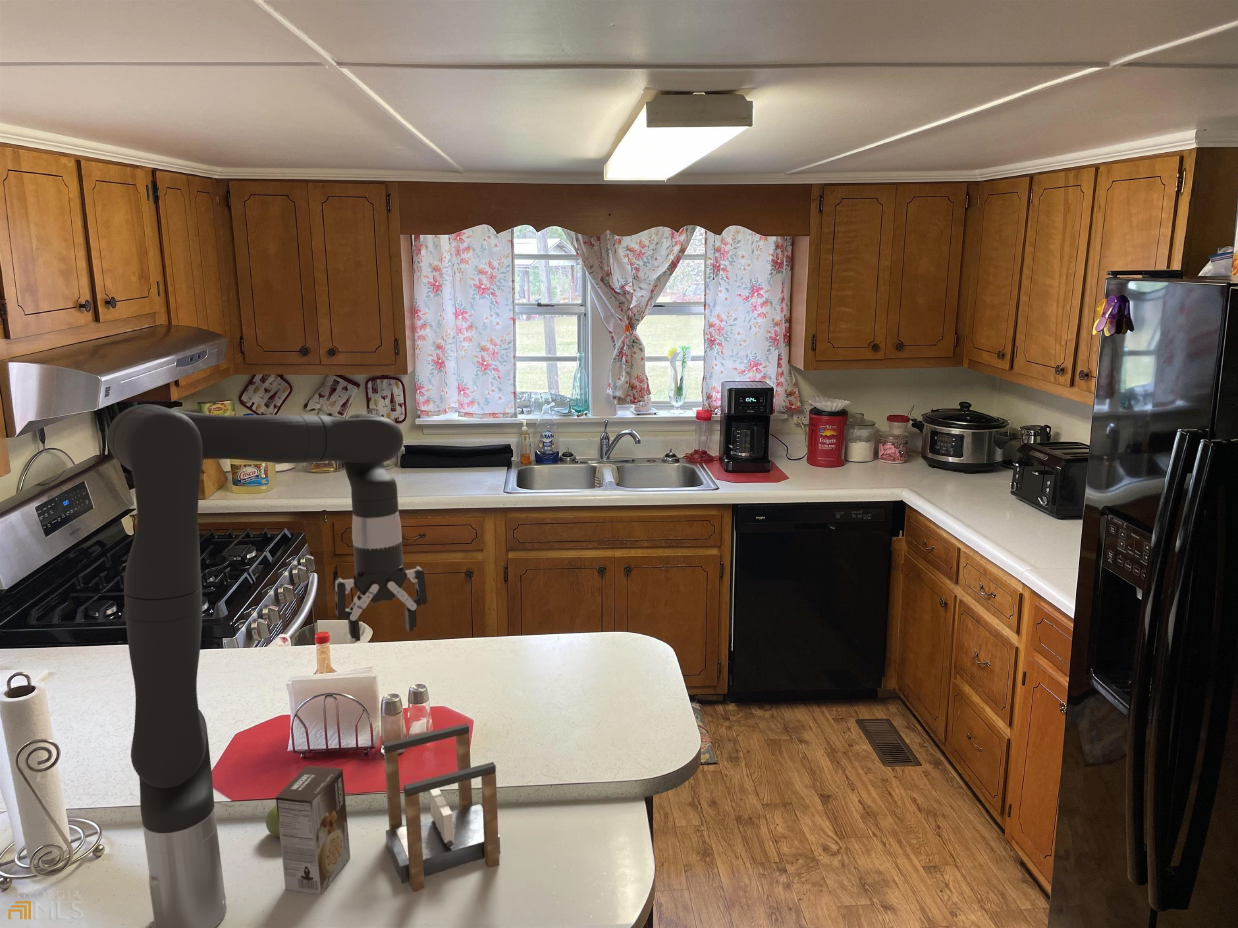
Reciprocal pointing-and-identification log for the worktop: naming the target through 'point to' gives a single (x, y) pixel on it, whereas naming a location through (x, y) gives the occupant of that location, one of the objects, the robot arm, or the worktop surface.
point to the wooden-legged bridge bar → (425, 738)
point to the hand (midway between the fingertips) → (383, 634)
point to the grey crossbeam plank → (449, 779)
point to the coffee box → (313, 829)
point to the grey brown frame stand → (464, 802)
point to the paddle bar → (442, 816)
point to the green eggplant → (273, 822)
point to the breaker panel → (441, 843)
